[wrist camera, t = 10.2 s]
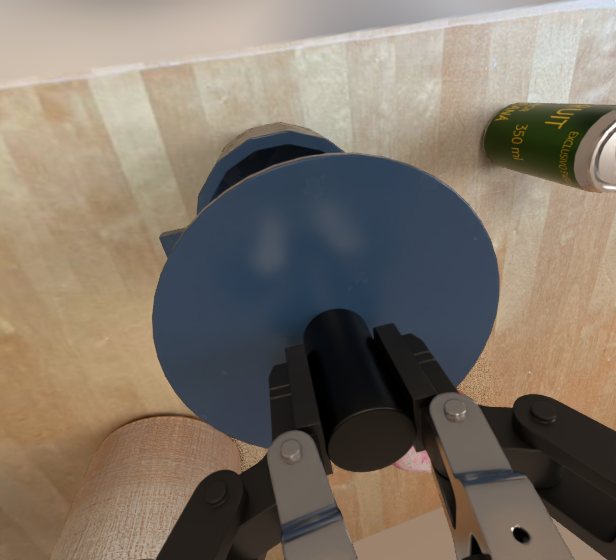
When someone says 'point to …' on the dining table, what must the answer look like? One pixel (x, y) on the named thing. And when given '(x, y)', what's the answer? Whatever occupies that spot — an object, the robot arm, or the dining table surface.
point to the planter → (141, 487)
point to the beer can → (556, 143)
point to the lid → (324, 297)
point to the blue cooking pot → (254, 161)
